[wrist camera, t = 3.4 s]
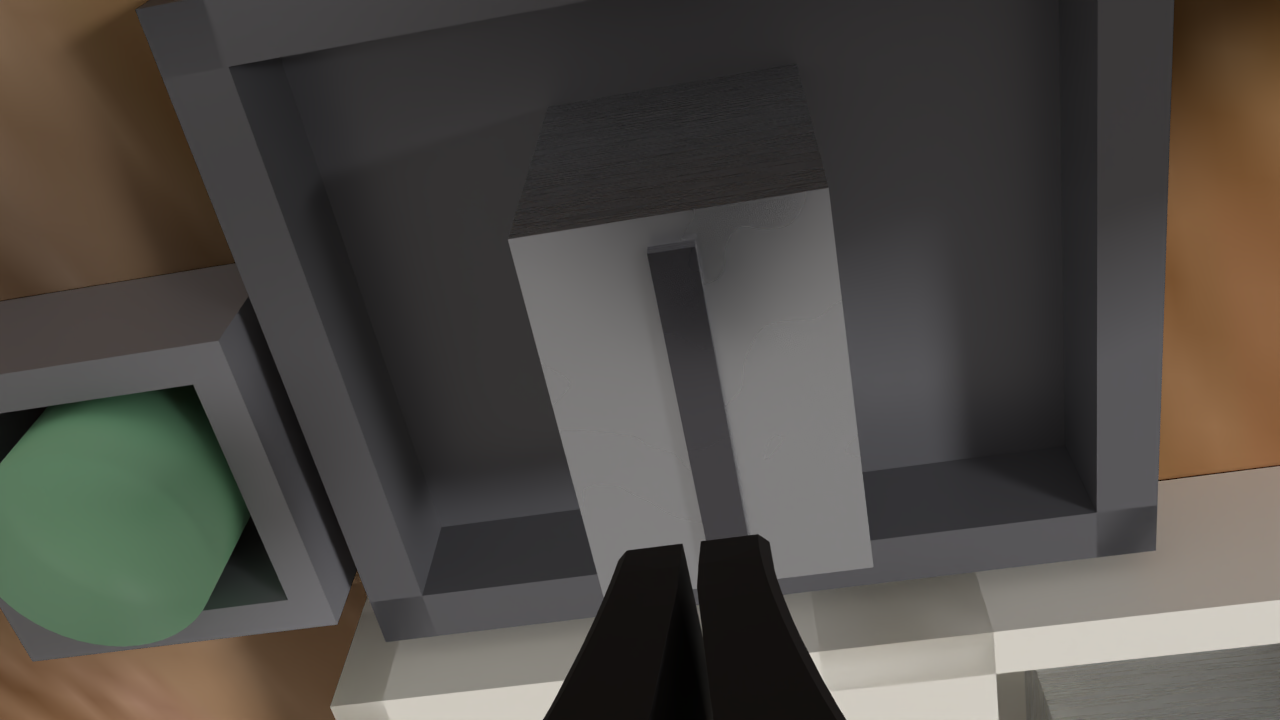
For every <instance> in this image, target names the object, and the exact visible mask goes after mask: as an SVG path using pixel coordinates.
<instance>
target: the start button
mask: <svg viewBox="0 0 1280 720" xmlns="http://www.w3.org/2000/svg"><path fill="white" fill-rule="evenodd" d="M250 516H251V515H250V512H249V510H248V508H247V506H246V503H245V501H244V499H243V497H242V494H241V492H240V490H239V488H238V485H237V483H236V481H235V478H234V476H233V474H232V472H231V469H230V467H229V465H228V463H227V460H226V458H225V456H224V453H223V451H222V449H221V447H220V444H219V442H218V440H217V438H216V435H215V433H214V431H213V429H212V426H211V424H210V422H209V419H208V417H207V415H206V413H205V410H204V408H203V406H202V404H201V401H200V399H199V397H198V394H197V392H196V390H195V388H194V385H187V386H180V387H173V388H167V389H160V390H153V391H147V392H140V393H133V394H127V395H120V396H113V397H106V398H100V399H93V400H86V401H80V402H73V403H66V404H60V405H53V406H48V407H47V408H46V409H45V410H44V411H43V413H42V414H41V415H40V416H39V417H38V419H37V420H36V421H35V422H34V423H33V425H32V426H31V427H30V428H29V429H28V431H27V432H26V433H25V434H24V435H23V437H22V438H21V439H20V440H19V441H18V443H17V444H16V445H15V446H14V447H13V448H12V450H11V451H10V452H9V453H8V454H7V456H6V457H5V458H4V459H3V460H2V462H1V463H0V598H2V599H3V600H4V601H5V602H6V603H7V604H8V605H9V606H11V607H12V608H13V609H14V610H16V611H17V612H18V613H20V614H21V615H23V616H24V617H26V618H27V619H29V620H31V621H32V622H34V623H36V624H38V625H40V626H42V627H43V628H45V629H47V630H50V631H52V632H54V633H57V634H59V635H62V636H65V637H68V638H71V639H74V640H77V641H82V642H86V643H91V644H97V645H105V646H138V645H144V644H149V643H154V642H157V641H160V640H164V639H166V638H168V637H171V636H173V635H175V634H177V633H179V632H180V631H182V630H183V629H185V628H186V627H188V626H189V625H190V624H191V623H192V622H193V621H194V620H196V618H197V617H198V616H199V615H200V613H201V612H202V611H203V609H204V607H205V605H206V604H207V602H208V600H209V598H210V596H211V594H212V592H213V590H214V588H215V586H216V584H217V582H218V580H219V578H220V576H221V574H222V572H223V570H224V568H225V566H226V564H227V562H228V560H229V558H230V556H231V554H232V552H233V550H234V548H235V546H236V544H237V542H238V540H239V538H240V536H241V534H242V532H243V530H244V528H245V526H246V524H247V522H248V520H249V518H250Z"/></svg>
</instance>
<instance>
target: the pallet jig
mask: <svg viewBox="0 0 1280 720" xmlns="http://www.w3.org/2000/svg"><path fill="white" fill-rule="evenodd" d="M783 597H784V599H785V602H786V604H787V606H788V609H789V611H790V614H791V616H792V619H793V621H794V623H795V625H796V628H797V630H798V632H799V634H800V636H801V638H802V640H803V642H804V644H805V646H806V648H807V650H808V652H809V654H810V656H811V658H812V660H813V662H814V664H815V665H816V667H817V669H818V671H819V673H820V675H821V677H822V679H823V681H824V683H825V684H826V686H827V688H828V690H829V691H830V693H831V695H832V697H833V698H834V700H835V702H836V704H837V705H838V707H839V709H840V710H841V712H842V713H843V715H844V717H845V718H846V720H1026V696H1025V671H1028V670H1037V669H1046V668H1056V667H1065V666H1074V665H1083V664H1093V663H1102V662H1111V661H1120V660H1129V659H1139V658H1148V657H1157V656H1166V655H1176V654H1185V653H1194V652H1203V651H1213V650H1222V649H1231V648H1240V647H1249V646H1259V645H1268V644H1277V643H1280V466H1276V467H1268V468H1260V469H1252V470H1244V471H1236V472H1228V473H1220V474H1213V475H1205V476H1197V477H1189V478H1181V479H1173V480H1165V481H1158V504H1157V534H1156V551H1148V552H1140V553H1132V554H1123V555H1115V556H1106V557H1098V558H1090V559H1081V560H1073V561H1064V562H1056V563H1047V564H1039V565H1031V566H1022V567H1014V568H1005V569H997V570H989V571H980V572H972V573H963V574H955V575H947V576H938V577H930V578H921V579H913V580H904V581H896V582H888V583H879V584H871V585H862V586H854V587H846V588H837V589H829V590H820V591H812V592H804V593H795V594H787V595H783ZM696 607H697V612H698V616H699V621H700V625H701V617H700V608H699V605H696ZM594 619H595V617H593V618H585V619H576V620H568V621H560V622H551V623H543V624H534V625H526V626H518V627H509V628H501V629H492V630H484V631H476V632H467V633H459V634H450V635H442V636H433V637H425V638H417V639H408V640H400V641H391V642H386V641H385V639H384V636H383V634H382V631H381V629H380V626H379V624H378V621H377V619H376V616H375V614H374V611H373V609H372V606H371V604H370V601H369V598H368V596H367V599H366V602H365V605H364V608H363V611H362V614H361V617H360V619H359V622H358V625H357V628H356V631H355V634H354V637H353V640H352V643H351V646H350V649H349V652H348V655H347V658H346V661H345V664H344V667H343V670H342V673H341V676H340V679H339V682H338V685H337V688H336V691H335V694H334V697H333V700H332V703H331V706H330V708H331V710H332V712H333V714H334V717H335V719H336V720H543V719H544V717H545V715H546V713H547V712H548V710H549V708H550V707H551V705H552V703H553V701H554V699H555V697H556V696H557V694H558V692H559V690H560V688H561V686H562V684H563V682H564V680H565V678H566V676H567V674H568V672H569V670H570V668H571V666H572V664H573V662H574V660H575V659H576V657H577V655H578V653H579V651H580V649H581V647H582V645H583V643H584V641H585V638H586V636H587V634H588V632H589V630H590V628H591V625H592V623H593V621H594ZM701 630H702V625H701ZM702 635H703V633H702Z"/></svg>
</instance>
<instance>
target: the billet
mask: <svg viewBox="0 0 1280 720" xmlns="http://www.w3.org/2000/svg"><path fill="white" fill-rule="evenodd" d="M508 242H509V246H510V250H511V253H512V257H513V261H514V265H515V268H516V272H517V276H518V280H519V283H520V287H521V291H522V294H523V298H524V302H525V306H526V309H527V313H528V317H529V321H530V324H531V328H532V332H533V336H534V339H535V343H536V347H537V351H538V354H539V358H540V362H541V365H542V369H543V373H544V377H545V380H546V384H547V388H548V392H549V395H550V399H551V403H552V407H553V410H554V414H555V418H556V422H557V425H558V429H559V433H560V436H561V440H562V444H563V448H564V451H565V455H566V459H567V463H568V466H569V470H570V474H571V478H572V481H573V485H574V489H575V492H576V496H577V500H578V504H579V507H580V511H581V515H582V519H583V522H584V526H585V530H586V534H587V537H588V541H589V545H590V549H591V552H592V556H593V560H594V563H595V567H596V571H597V575H598V578H599V582H600V586H601V590H602V593H603V597H604V596H605V594H606V591H607V589H608V586H609V584H610V581H611V579H612V576H613V574H614V571H615V568H616V565H617V563H618V560H619V559H620V558H621V557H622V555H623V554H624V553H625V552H626V551H627V550H634V549H642V548H650V547H658V546H666V545H674V544H682V543H683V547H684V552H685V556H686V561H687V566H688V570H689V575H690V579H691V584H692V589H697V578H698V563H699V553H700V544H701V541H707V540H715V539H723V538H731V537H739V536H747V535H755V534H759V535H760V536H762V537H763V538H765V539H766V540H768V541H769V542H770V546H771V552H772V558H773V563H774V569H775V573H776V576H777V579H781V578H789V577H797V576H806V575H814V574H822V573H831V572H839V571H847V570H855V569H864V568H872V567H873V558H872V550H871V542H870V533H869V525H868V516H867V508H866V499H865V491H864V482H863V474H862V465H861V457H860V449H859V440H858V432H857V423H856V415H855V406H854V398H853V389H852V381H851V372H850V364H849V356H848V347H847V339H846V330H845V322H844V313H843V305H842V296H841V288H840V279H839V271H838V263H837V254H836V246H835V237H834V229H833V220H832V212H831V203H830V195H829V187H828V183H827V179H826V176H825V172H824V168H823V164H822V160H821V156H820V152H819V148H818V144H817V140H816V136H815V133H814V129H813V125H812V121H811V117H810V113H809V109H808V105H807V101H806V97H805V93H804V90H803V86H802V82H801V78H800V74H799V70H798V66H797V64H792V65H786V66H781V67H775V68H769V69H763V70H758V71H752V72H746V73H740V74H735V75H729V76H723V77H717V78H711V79H706V80H700V81H694V82H688V83H683V84H677V85H671V86H665V87H660V88H654V89H648V90H642V91H636V92H631V93H625V94H619V95H613V96H608V97H602V98H596V99H590V100H585V101H579V102H573V103H567V104H562V105H556V106H550V107H548V108H547V111H546V115H545V118H544V121H543V125H542V128H541V131H540V134H539V138H538V141H537V144H536V148H535V151H534V154H533V158H532V161H531V164H530V167H529V171H528V174H527V177H526V181H525V184H524V187H523V191H522V194H521V197H520V201H519V204H518V207H517V210H516V214H515V217H514V220H513V224H512V227H511V230H510V234H509V237H508Z"/></svg>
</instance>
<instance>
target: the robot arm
mask: <svg viewBox="0 0 1280 720" xmlns="http://www.w3.org/2000/svg"><path fill="white" fill-rule="evenodd" d="M697 592H698V600H699V608H700V617H701V625H702V630H701V625H700V621H699V616H698V612H697V607H696V602H695V598H694V593H693V589H692V584H691V579H690V575H689V570H688V566H687V561H686V556H685V552H684V547H683V543H682V544H674V545H666V546H658V547H650V548H642V549H634V550H627V551H626V552H625V553H624V554H623V555H622V557H621V558H620V559H619V560H618V563H617V565H616V568H615V571H614V574H613V576H612V579H611V581H610V584H609V586H608V589H607V591H606V594H605V596H604V598H603V601H602V603H601V605H600V608H599V610H598V612H597V615H596V617H595V619H594V621H593V623H592V625H591V628H590V630H589V632H588V634H587V636H586V638H585V641H584V643H583V645H582V647H581V649H580V651H579V653H578V655H577V657H576V659H575V660H574V662H573V664H572V666H571V668H570V670H569V672H568V674H567V676H566V678H565V680H564V682H563V684H562V686H561V688H560V690H559V692H558V694H557V696H556V697H555V699H554V701H553V703H552V705H551V707H550V708H549V710H548V712H547V713H546V715H545V717H544V719H543V720H846V718H845V717H844V715H843V713H842V712H841V710H840V709H839V707H838V705H837V704H836V702H835V700H834V698H833V697H832V695H831V693H830V691H829V690H828V688H827V686H826V684H825V683H824V681H823V679H822V677H821V675H820V673H819V671H818V669H817V667H816V665H815V664H814V662H813V660H812V658H811V656H810V654H809V652H808V650H807V648H806V646H805V644H804V642H803V640H802V638H801V636H800V634H799V632H798V630H797V628H796V625H795V623H794V621H793V619H792V616H791V614H790V611H789V609H788V606H787V604H786V602H785V599H784V597H783V594H782V591H781V588H780V585H779V583H778V580H777V576H776V573H775V569H774V563H773V558H772V552H771V546H770V542H769V541H768V540H766V539H765V538H763V537H762V536H760V535H759V534H755V535H747V536H739V537H731V538H723V539H715V540H707V541H701V544H700V553H699V563H698V578H697ZM702 633H703V635H702Z"/></svg>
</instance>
